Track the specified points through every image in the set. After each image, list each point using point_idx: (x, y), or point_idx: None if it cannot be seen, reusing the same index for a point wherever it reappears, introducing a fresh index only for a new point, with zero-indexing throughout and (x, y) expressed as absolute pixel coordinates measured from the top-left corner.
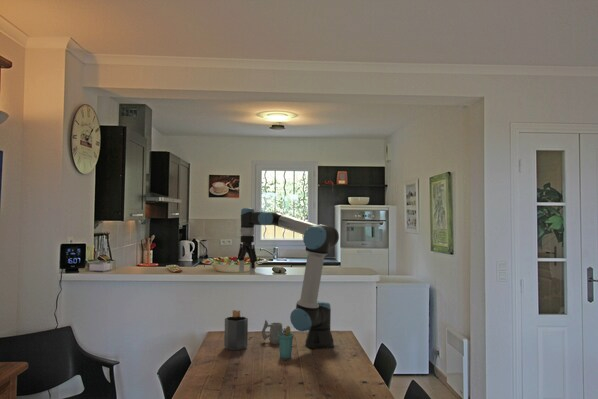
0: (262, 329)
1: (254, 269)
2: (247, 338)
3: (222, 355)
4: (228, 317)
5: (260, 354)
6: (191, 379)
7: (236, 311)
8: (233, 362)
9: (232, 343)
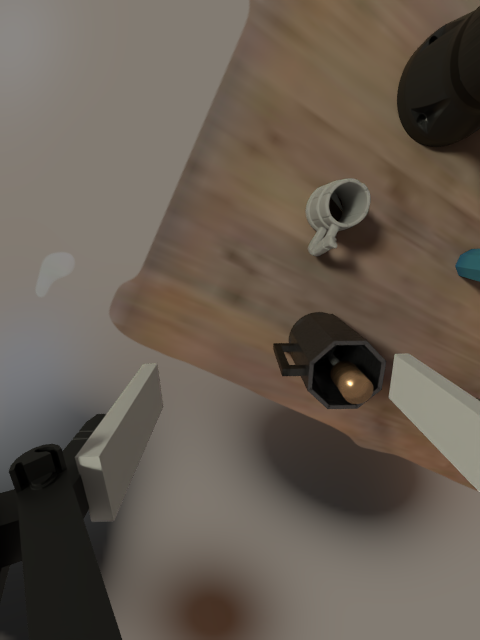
0: (317, 254)
1: (443, 380)
2: (339, 319)
3: None
4: (314, 392)
5: (409, 310)
6: (459, 476)
7: (370, 395)
8: None
9: None
